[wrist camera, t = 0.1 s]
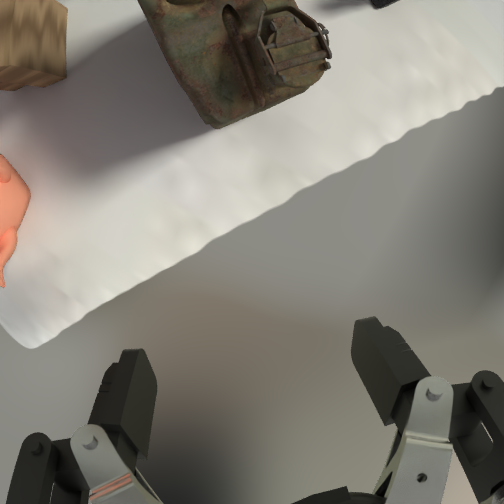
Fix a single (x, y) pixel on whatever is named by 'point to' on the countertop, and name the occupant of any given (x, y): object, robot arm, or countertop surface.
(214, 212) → the countertop surface
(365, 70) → the countertop surface
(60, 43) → the slotted wooden stand
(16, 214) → the pot
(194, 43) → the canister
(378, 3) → the gun
